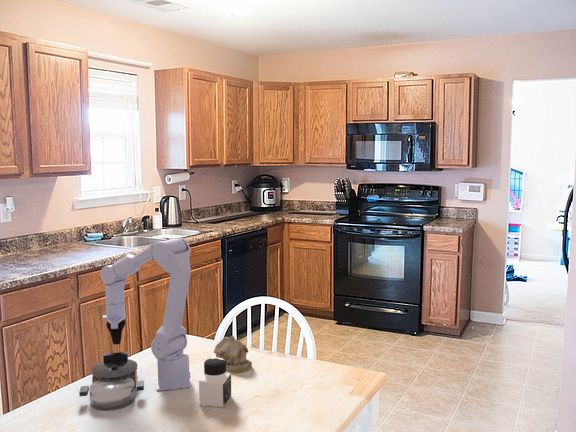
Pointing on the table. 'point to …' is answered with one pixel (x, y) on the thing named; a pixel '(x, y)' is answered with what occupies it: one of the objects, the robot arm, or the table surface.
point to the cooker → (112, 392)
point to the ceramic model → (233, 355)
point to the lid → (114, 366)
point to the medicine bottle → (215, 383)
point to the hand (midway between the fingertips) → (116, 343)
